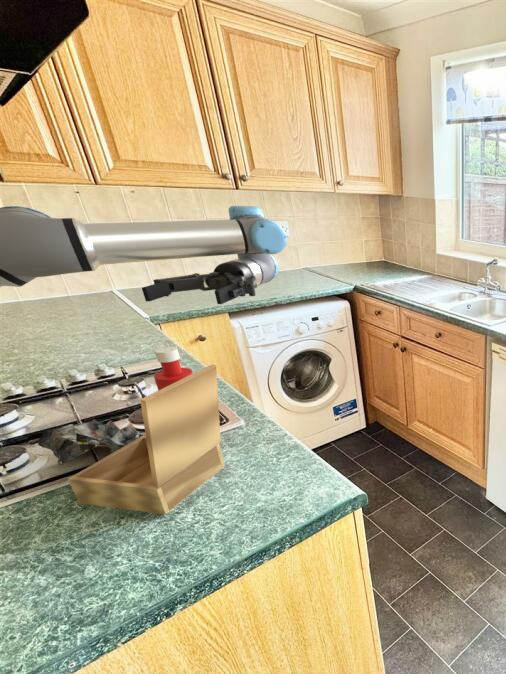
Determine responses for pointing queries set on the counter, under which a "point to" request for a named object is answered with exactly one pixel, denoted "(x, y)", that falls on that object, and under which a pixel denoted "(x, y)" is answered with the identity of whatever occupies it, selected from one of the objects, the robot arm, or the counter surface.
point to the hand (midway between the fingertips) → (181, 296)
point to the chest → (140, 480)
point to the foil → (86, 438)
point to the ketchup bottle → (169, 367)
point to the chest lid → (181, 423)
